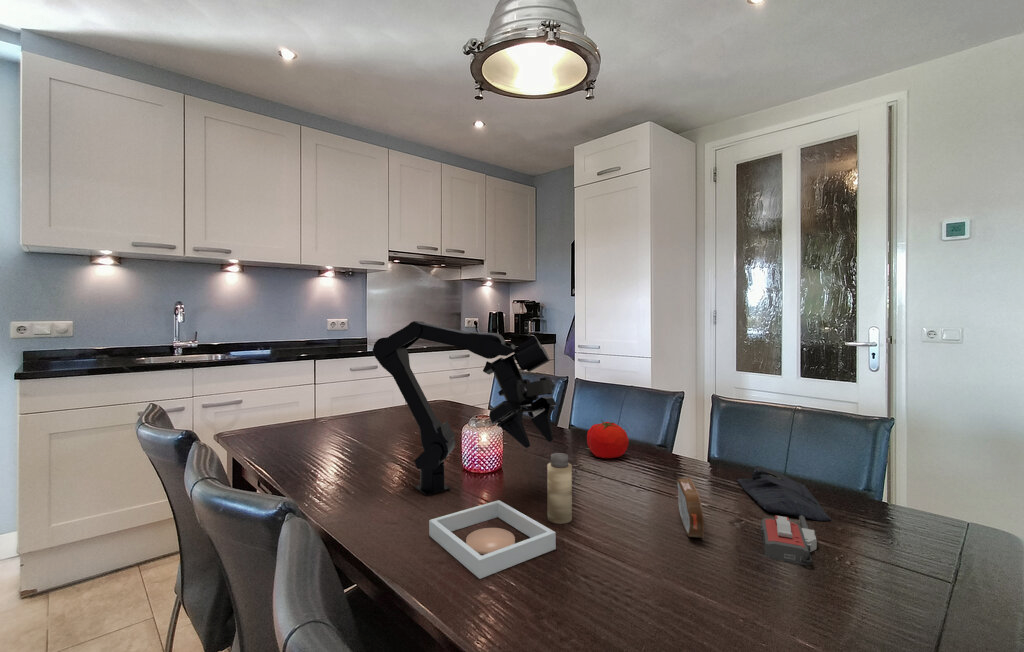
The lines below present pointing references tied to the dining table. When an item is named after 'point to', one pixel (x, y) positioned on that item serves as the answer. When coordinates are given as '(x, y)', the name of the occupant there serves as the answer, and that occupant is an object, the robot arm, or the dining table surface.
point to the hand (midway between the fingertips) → (540, 444)
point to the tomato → (607, 440)
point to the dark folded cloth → (782, 495)
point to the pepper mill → (559, 489)
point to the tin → (690, 508)
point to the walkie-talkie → (788, 540)
